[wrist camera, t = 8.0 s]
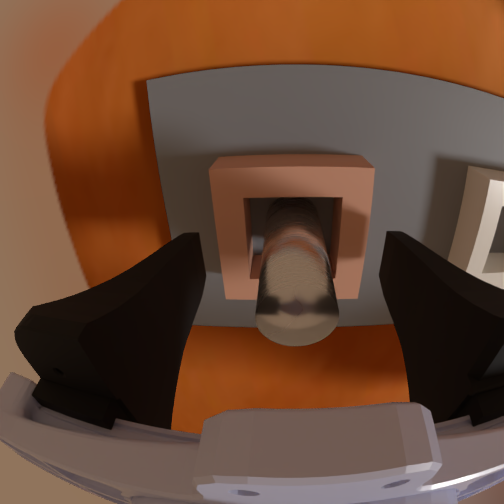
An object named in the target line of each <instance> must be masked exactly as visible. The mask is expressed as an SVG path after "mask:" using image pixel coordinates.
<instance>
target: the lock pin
mask: <svg viewBox="0 0 504 504" xmlns="http://www.w3.org/2000/svg"><path fill="white" fill-rule="evenodd" d="M338 320H339V308H338V303H337V297H336V292H335V287H334V282H333V278H332V273H331V268H330V264H329V259H328V255H327V250H326V246H325V241H324V237H323V233H322V229H321V224H320V220H319V216H318V212H317V209H316V207H315V206H314V204H313V203H312V202H311V201H310V200H309V199H307V198H305V197H280V198H278V199H276V200H275V201H274V202H273V203H272V204H271V205H270V207H269V209H268V211H267V216H266V225H265V233H264V242H263V251H262V260H261V269H260V277H259V286H258V294H257V303H256V311H255V322H256V325H257V327H258V329H259V331H260V332H261V333H262V334H263V335H264V336H265V337H267V338H268V339H270V340H271V341H273V342H276V343H278V344H282V345H286V346H305V345H309V344H313V343H316V342H318V341H320V340H322V339H324V338H325V337H327V336H328V335H329V334H330V333H331V332H332V331H333V330H334V329H335V327H336V326H337V323H338Z"/></svg>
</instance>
